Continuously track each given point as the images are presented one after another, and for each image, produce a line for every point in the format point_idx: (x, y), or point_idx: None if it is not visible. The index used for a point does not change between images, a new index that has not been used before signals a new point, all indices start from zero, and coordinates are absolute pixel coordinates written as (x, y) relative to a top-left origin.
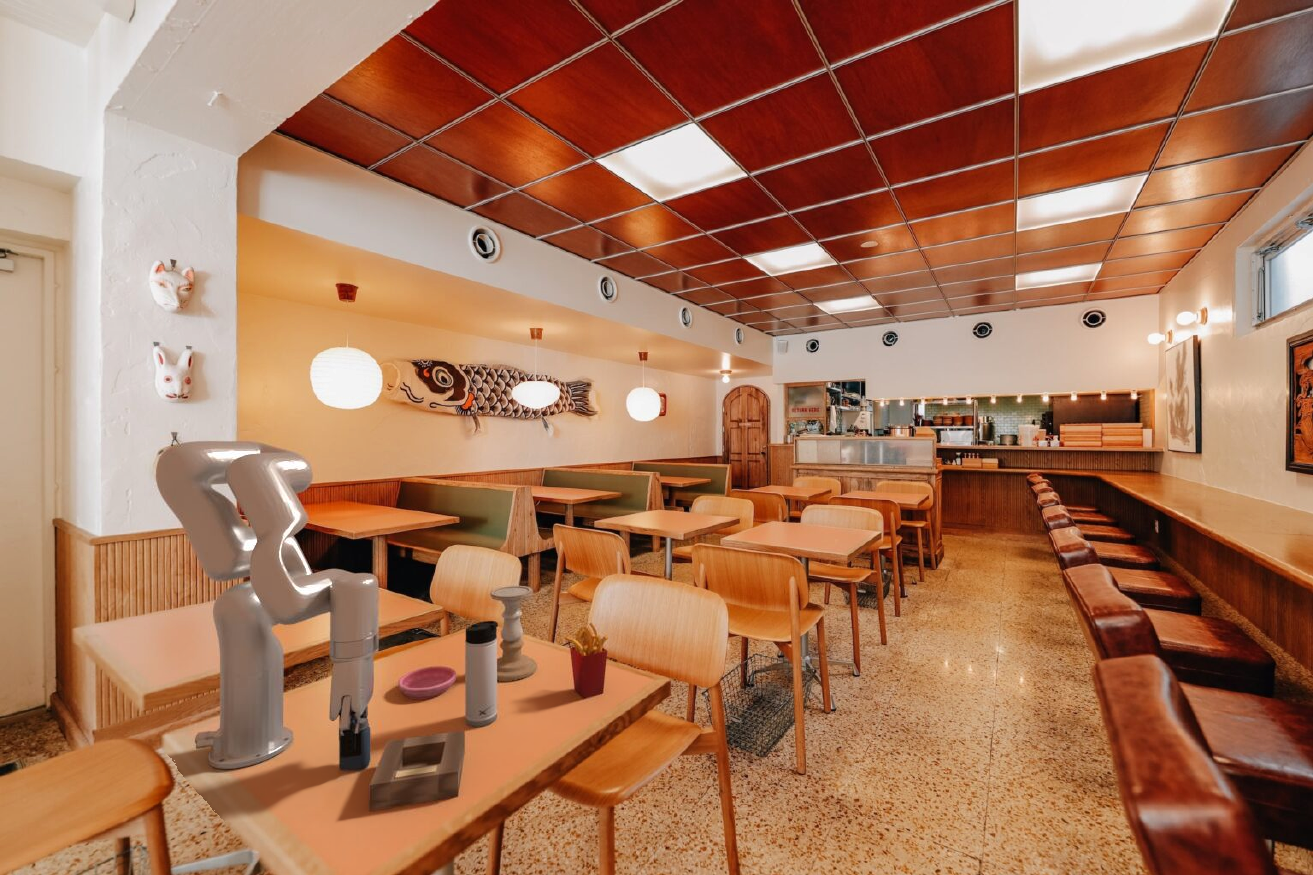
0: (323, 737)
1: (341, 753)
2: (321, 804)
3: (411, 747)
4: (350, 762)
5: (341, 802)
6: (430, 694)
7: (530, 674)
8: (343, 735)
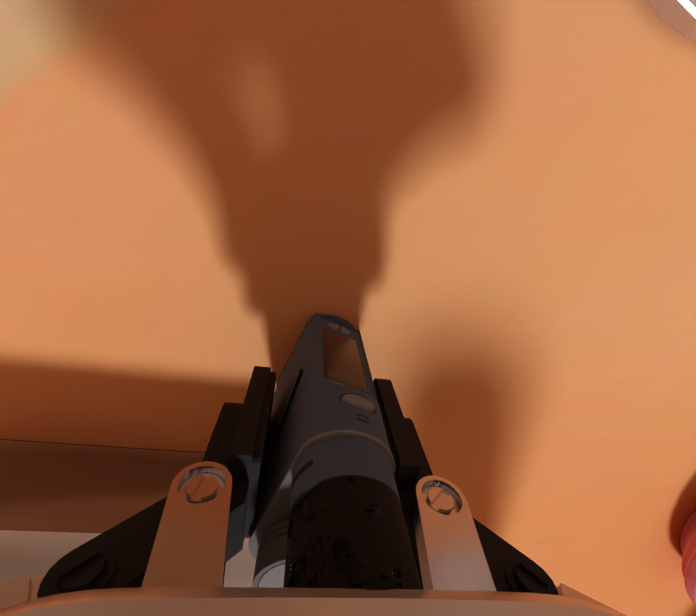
0: (655, 208)
1: (251, 377)
2: (65, 281)
3: None
4: (290, 369)
5: (64, 349)
6: (686, 547)
7: None
8: (187, 480)
